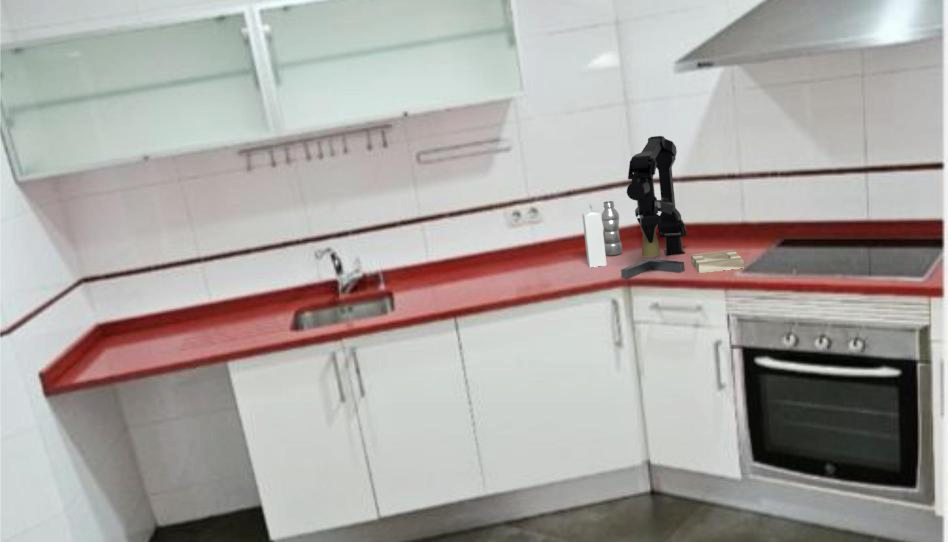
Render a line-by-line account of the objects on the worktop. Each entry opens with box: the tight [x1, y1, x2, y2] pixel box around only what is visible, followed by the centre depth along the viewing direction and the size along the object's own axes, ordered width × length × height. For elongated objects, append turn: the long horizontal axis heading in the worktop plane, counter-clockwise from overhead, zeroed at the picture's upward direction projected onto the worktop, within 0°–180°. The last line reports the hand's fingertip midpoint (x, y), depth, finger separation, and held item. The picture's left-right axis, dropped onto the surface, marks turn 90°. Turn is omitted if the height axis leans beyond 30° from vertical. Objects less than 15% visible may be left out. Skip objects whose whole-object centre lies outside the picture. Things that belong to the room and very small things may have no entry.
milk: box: [581, 203, 608, 269], centre depth 288 cm, size 6×6×22 cm
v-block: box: [620, 258, 686, 280], centre depth 271 cm, size 12×20×3 cm, turn 85°
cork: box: [640, 225, 661, 258], centre depth 265 cm, size 6×6×11 cm
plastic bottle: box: [601, 200, 623, 256], centre depth 300 cm, size 6×7×20 cm
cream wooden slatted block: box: [690, 249, 745, 274], centre depth 266 cm, size 14×14×3 cm
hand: (649, 241), depth 265 cm, fingers closed on cork, 4 cm apart
